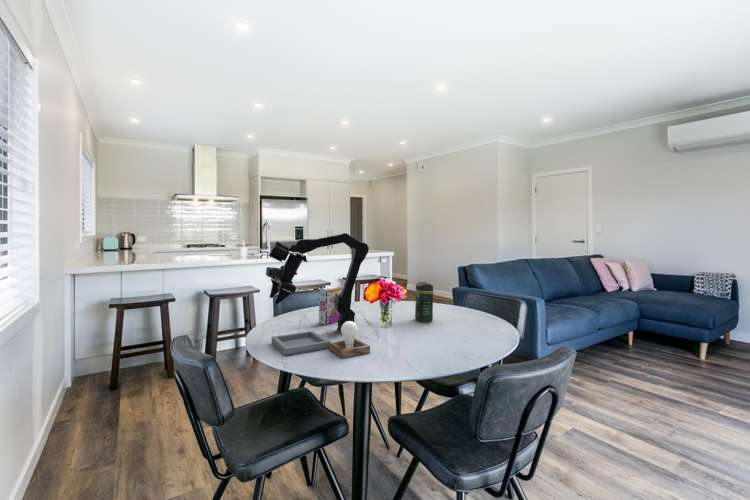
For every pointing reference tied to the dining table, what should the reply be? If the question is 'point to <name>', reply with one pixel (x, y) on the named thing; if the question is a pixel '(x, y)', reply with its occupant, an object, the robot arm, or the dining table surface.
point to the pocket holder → (358, 350)
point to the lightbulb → (349, 333)
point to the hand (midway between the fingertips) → (273, 300)
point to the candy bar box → (328, 305)
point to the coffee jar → (424, 302)
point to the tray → (300, 342)
